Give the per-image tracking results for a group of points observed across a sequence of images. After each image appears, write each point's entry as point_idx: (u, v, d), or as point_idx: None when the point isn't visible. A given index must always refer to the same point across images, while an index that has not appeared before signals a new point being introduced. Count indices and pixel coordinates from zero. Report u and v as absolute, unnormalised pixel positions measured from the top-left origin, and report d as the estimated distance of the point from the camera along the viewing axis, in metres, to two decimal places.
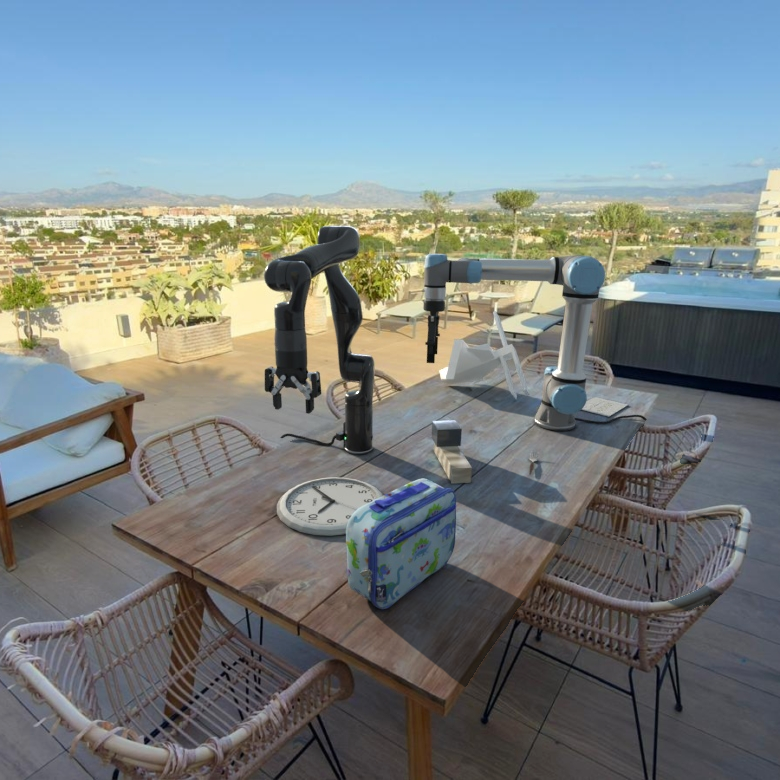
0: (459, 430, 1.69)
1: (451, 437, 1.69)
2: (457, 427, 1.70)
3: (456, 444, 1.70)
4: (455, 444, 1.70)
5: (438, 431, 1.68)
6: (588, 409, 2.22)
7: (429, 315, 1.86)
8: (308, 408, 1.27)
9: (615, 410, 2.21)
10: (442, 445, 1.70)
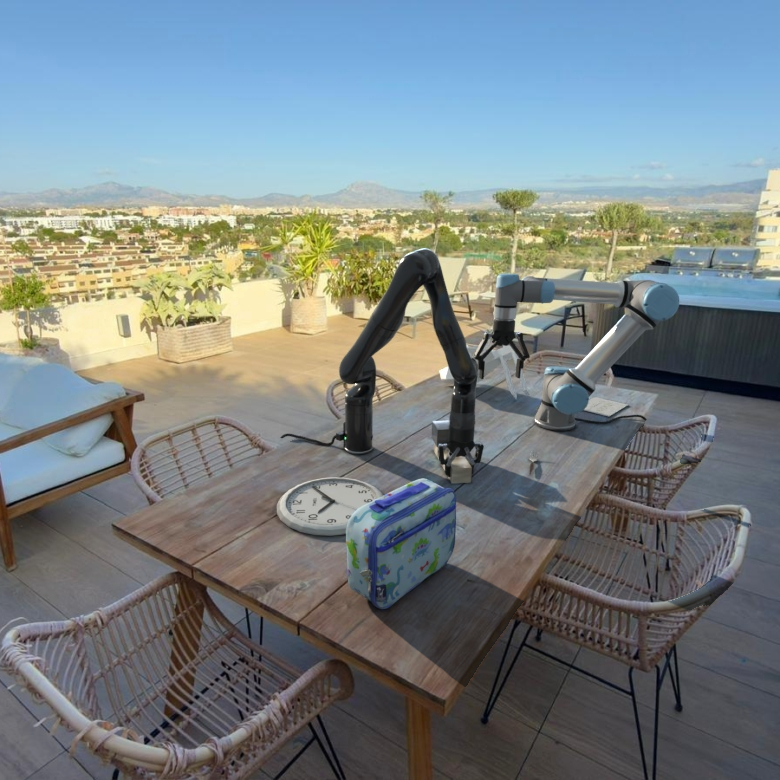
0: None
1: None
2: None
3: None
4: None
5: (438, 431, 1.68)
6: (588, 409, 2.22)
7: None
8: None
9: (615, 410, 2.21)
10: None
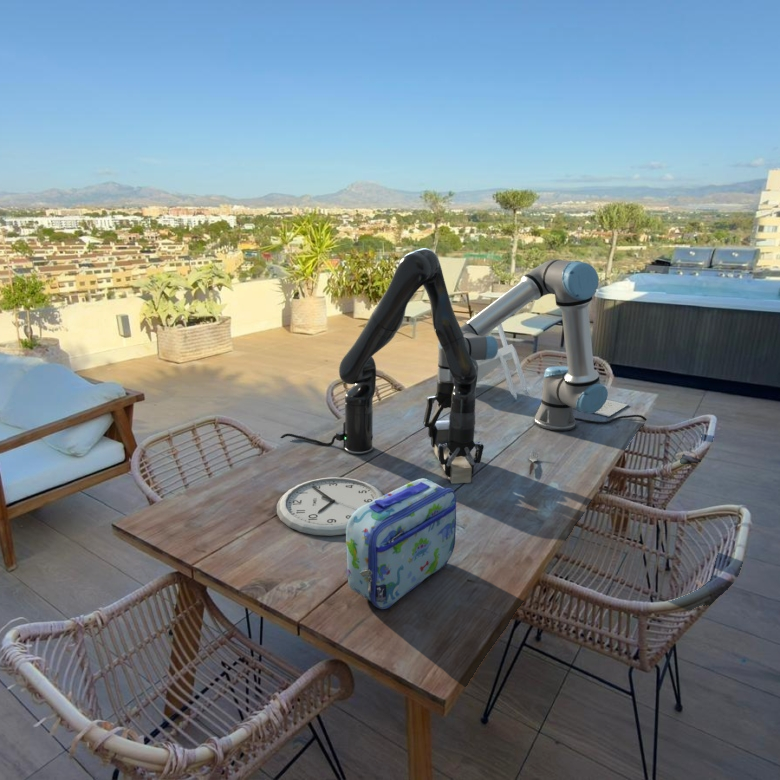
0: None
1: None
2: None
3: None
4: None
5: (438, 431, 1.68)
6: None
7: None
8: None
9: (615, 410, 2.21)
10: None
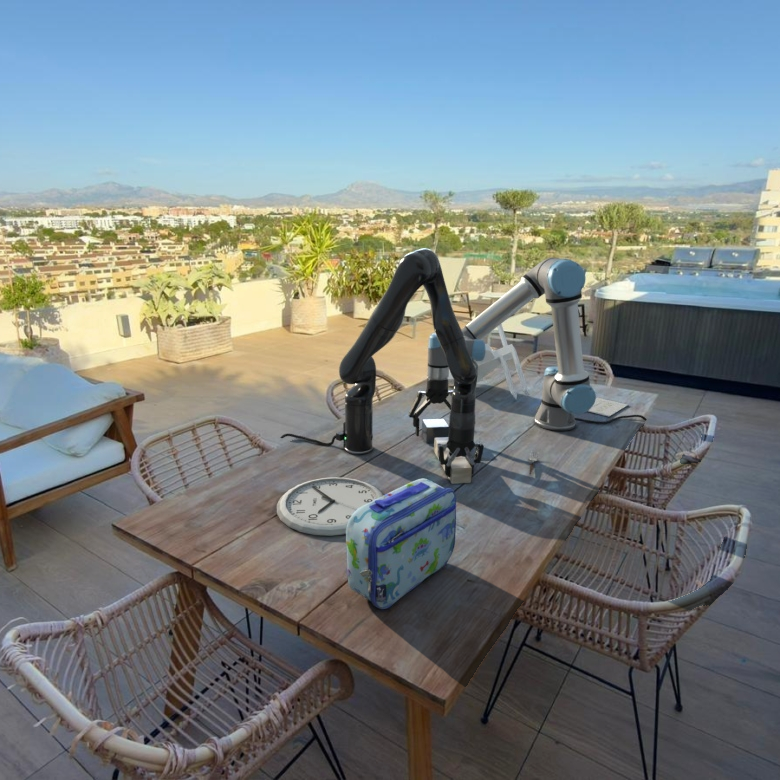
0: (446, 428, 1.84)
1: (440, 434, 1.85)
2: (445, 425, 1.86)
3: None
4: None
5: (427, 429, 1.83)
6: None
7: None
8: None
9: (615, 410, 2.21)
10: (431, 441, 1.85)
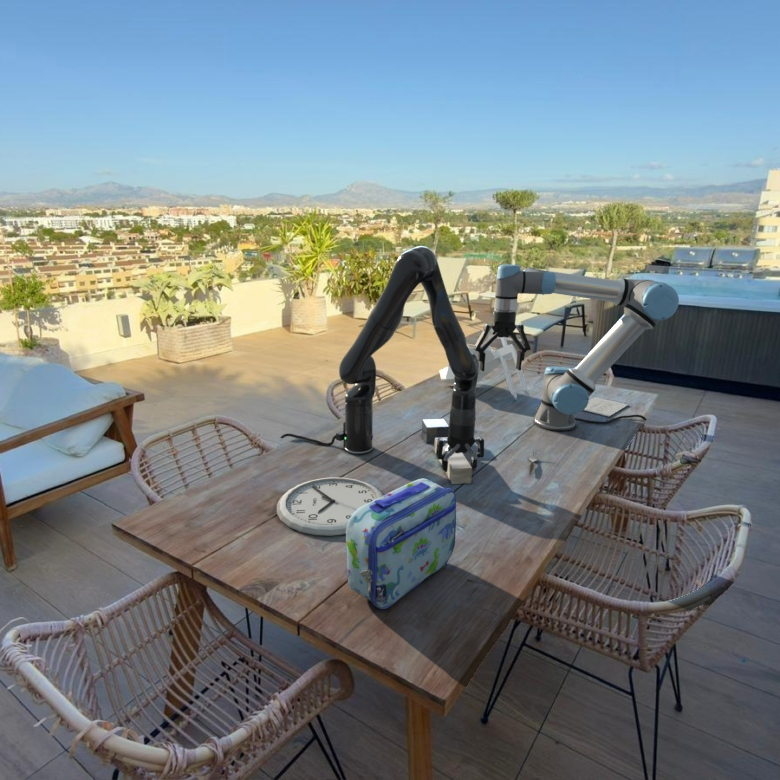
0: (446, 428, 1.84)
1: (440, 434, 1.85)
2: (445, 425, 1.86)
3: None
4: None
5: (427, 429, 1.83)
6: (588, 409, 2.22)
7: None
8: (474, 466, 1.58)
9: (615, 410, 2.21)
10: (431, 441, 1.85)
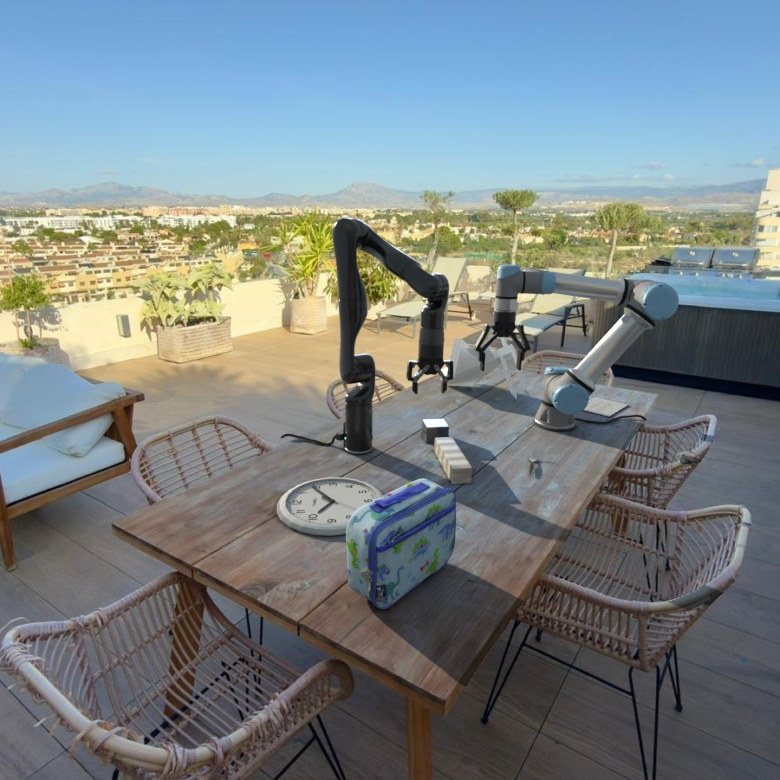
0: (446, 428, 1.84)
1: (440, 434, 1.85)
2: (445, 425, 1.86)
3: None
4: None
5: (427, 429, 1.83)
6: (588, 409, 2.22)
7: None
8: (444, 389, 1.61)
9: (615, 410, 2.21)
10: (431, 441, 1.85)
